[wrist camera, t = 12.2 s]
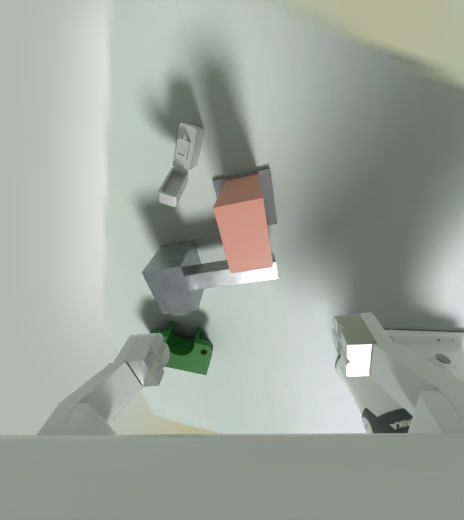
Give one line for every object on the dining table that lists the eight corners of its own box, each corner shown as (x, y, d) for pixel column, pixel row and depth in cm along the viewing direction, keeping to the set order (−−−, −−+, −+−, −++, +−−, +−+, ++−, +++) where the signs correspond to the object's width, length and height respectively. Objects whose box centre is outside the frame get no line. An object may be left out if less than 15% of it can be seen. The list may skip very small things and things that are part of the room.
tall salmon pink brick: (258, 173, 27) (263, 197, 17) (265, 223, 30) (273, 267, 20) (225, 180, 27) (213, 207, 18) (236, 228, 30) (230, 273, 21)
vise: (269, 227, 30) (274, 251, 24) (275, 269, 34) (281, 300, 28) (161, 246, 33) (141, 272, 27) (177, 283, 36) (162, 314, 30)
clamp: (208, 315, 46) (223, 346, 38) (202, 339, 47) (215, 373, 40) (146, 316, 40) (149, 351, 33) (141, 343, 42) (143, 383, 34)
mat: (269, 168, 27) (269, 168, 26) (276, 222, 30) (276, 223, 30) (213, 180, 28) (212, 181, 27) (226, 231, 31) (225, 232, 31)
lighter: (189, 123, 25) (166, 121, 18) (204, 128, 25) (187, 128, 18) (178, 185, 28) (156, 203, 21) (192, 190, 29) (173, 209, 22)
